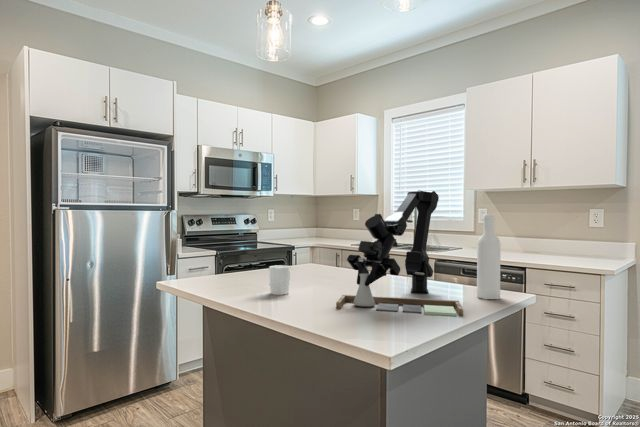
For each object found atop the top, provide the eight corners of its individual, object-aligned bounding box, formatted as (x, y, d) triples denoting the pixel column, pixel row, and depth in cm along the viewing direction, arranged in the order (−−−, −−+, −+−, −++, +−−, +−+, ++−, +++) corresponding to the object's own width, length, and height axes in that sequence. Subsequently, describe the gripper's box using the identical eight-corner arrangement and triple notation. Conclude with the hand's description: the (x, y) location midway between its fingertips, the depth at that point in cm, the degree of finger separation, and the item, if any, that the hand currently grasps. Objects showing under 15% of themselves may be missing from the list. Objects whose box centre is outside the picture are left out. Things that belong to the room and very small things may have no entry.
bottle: (483, 300, 144) (483, 214, 144) (472, 295, 152) (473, 214, 152) (504, 299, 145) (505, 214, 145) (493, 295, 153) (494, 214, 153)
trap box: (342, 300, 142) (342, 294, 142) (458, 306, 133) (458, 300, 133) (336, 308, 130) (336, 302, 130) (463, 316, 122) (463, 309, 122)
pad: (423, 307, 132) (423, 304, 132) (453, 309, 131) (453, 306, 131) (424, 314, 124) (424, 311, 124) (456, 316, 122) (456, 313, 122)
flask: (374, 307, 130) (374, 276, 130) (351, 306, 132) (351, 275, 132) (376, 302, 137) (376, 272, 137) (354, 301, 139) (354, 272, 139)
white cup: (278, 290, 160) (278, 264, 160) (294, 292, 155) (294, 266, 155) (264, 293, 153) (264, 266, 153) (280, 296, 149) (280, 268, 149)
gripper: (350, 231, 143) (328, 266, 136) (395, 233, 130) (374, 272, 123) (364, 252, 149) (344, 286, 141) (409, 256, 136) (389, 294, 128)
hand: (361, 284), depth 133 cm, fingers closed on flask, 3 cm apart
